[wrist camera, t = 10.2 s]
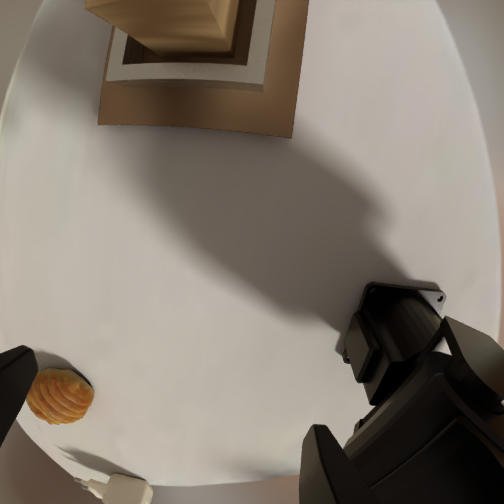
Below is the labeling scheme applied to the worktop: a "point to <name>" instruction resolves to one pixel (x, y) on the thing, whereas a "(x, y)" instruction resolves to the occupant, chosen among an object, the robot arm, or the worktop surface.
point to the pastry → (59, 396)
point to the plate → (221, 100)
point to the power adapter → (120, 490)
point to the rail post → (176, 24)
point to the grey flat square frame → (195, 74)
